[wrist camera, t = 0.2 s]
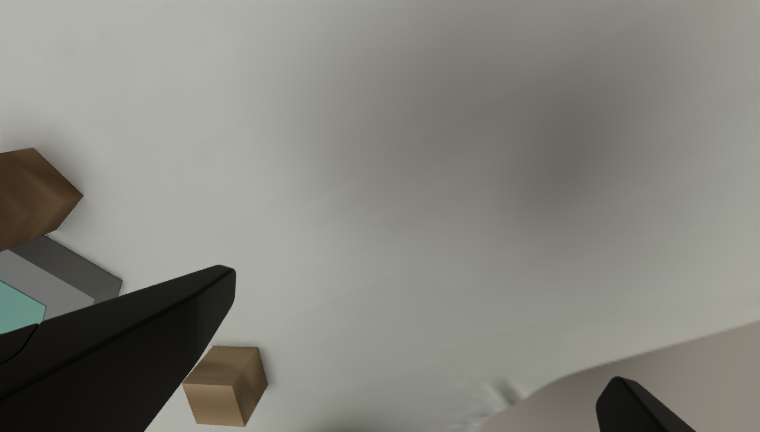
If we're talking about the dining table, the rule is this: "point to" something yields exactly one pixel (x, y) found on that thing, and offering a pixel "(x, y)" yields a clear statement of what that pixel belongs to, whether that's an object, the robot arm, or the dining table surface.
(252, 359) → the oak block
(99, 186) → the dining table surface
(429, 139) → the dining table surface
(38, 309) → the base slab
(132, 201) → the dining table surface
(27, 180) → the walnut pillar
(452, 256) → the dining table surface
